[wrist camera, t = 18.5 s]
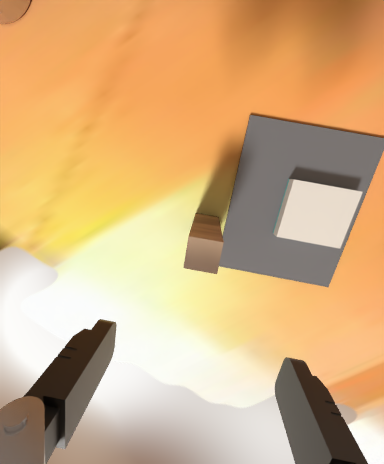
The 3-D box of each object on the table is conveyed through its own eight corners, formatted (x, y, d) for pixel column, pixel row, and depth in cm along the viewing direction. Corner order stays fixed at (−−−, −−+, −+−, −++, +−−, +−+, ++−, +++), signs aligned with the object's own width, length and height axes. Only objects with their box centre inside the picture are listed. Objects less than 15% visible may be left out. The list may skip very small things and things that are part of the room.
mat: (249, 115, 29) (250, 114, 28) (385, 139, 28) (388, 139, 28) (216, 264, 35) (216, 265, 34) (326, 285, 34) (328, 287, 34)
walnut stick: (195, 213, 33) (188, 236, 21) (218, 217, 33) (223, 242, 21) (192, 234, 34) (183, 267, 22) (214, 238, 34) (217, 273, 22)
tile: (293, 179, 28) (362, 191, 28) (288, 178, 30) (352, 190, 30) (276, 236, 30) (340, 248, 30) (272, 232, 32) (332, 243, 32)
